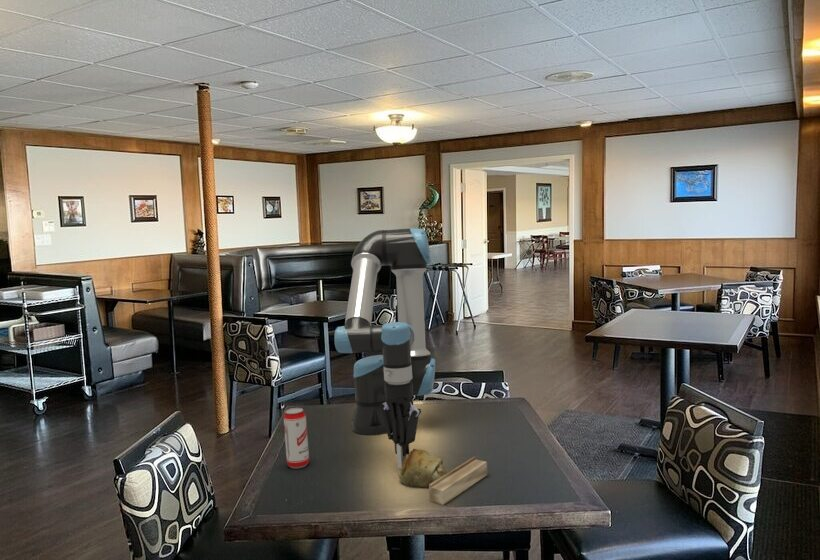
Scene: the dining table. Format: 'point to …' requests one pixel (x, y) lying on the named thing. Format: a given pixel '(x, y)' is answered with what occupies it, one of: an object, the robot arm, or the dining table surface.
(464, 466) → the wooden block
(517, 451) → the dining table surface
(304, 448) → the beer can
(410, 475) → the pastry
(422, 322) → the robot arm
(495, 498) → the dining table surface
